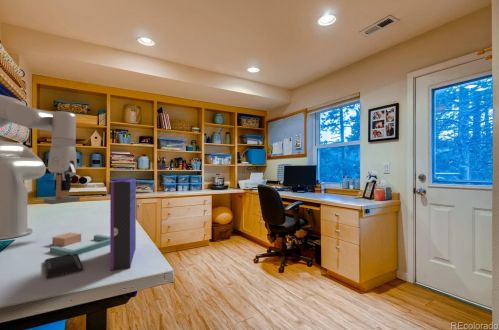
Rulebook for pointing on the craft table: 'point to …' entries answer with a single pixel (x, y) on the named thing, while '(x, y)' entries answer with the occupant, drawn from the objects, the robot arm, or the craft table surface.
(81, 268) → the phone
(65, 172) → the robot arm
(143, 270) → the craft table surface
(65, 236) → the tile
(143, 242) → the craft table surface
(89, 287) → the craft table surface
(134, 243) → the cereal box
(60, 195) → the pusher
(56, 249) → the frame
